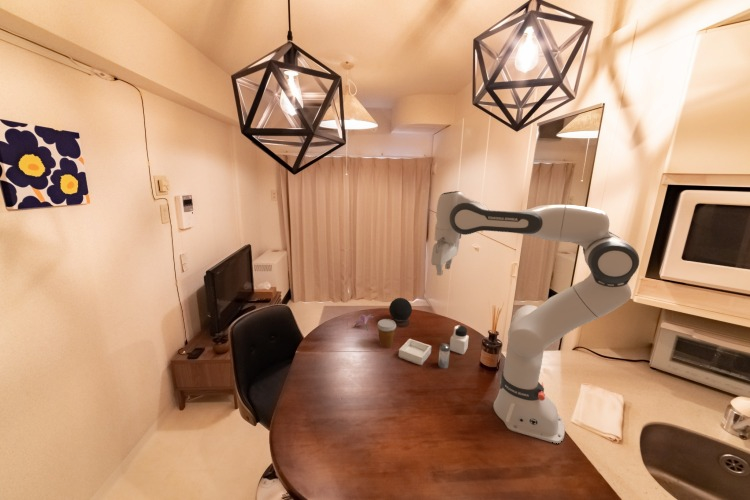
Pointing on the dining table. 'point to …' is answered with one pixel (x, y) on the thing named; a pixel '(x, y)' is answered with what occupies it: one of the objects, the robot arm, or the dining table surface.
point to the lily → (363, 319)
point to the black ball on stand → (400, 312)
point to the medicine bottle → (459, 340)
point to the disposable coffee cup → (386, 332)
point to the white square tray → (415, 351)
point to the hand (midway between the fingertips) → (443, 271)
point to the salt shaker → (444, 355)
